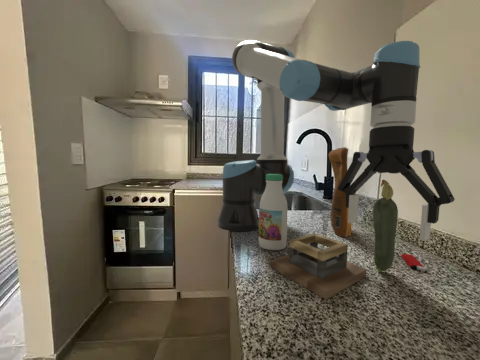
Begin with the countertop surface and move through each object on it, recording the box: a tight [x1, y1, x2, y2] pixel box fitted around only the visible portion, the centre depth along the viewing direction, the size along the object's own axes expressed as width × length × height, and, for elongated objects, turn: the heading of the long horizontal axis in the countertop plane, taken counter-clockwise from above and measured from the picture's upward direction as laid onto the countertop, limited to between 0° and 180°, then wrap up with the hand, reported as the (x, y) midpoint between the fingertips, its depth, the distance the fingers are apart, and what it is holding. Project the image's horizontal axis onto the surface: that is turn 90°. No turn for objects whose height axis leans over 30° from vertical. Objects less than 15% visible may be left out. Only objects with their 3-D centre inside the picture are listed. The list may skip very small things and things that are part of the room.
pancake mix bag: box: [328, 146, 353, 238], centre depth 76 cm, size 7×19×28 cm, turn 165°
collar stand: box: [269, 232, 368, 300], centre depth 48 cm, size 14×14×6 cm
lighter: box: [400, 253, 429, 274], centre depth 53 cm, size 3×1×8 cm
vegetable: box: [372, 179, 399, 273], centre depth 47 cm, size 4×4×20 cm
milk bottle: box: [258, 174, 289, 251], centre depth 62 cm, size 8×8×20 cm
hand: (384, 230), depth 47 cm, fingers open, 13 cm apart
